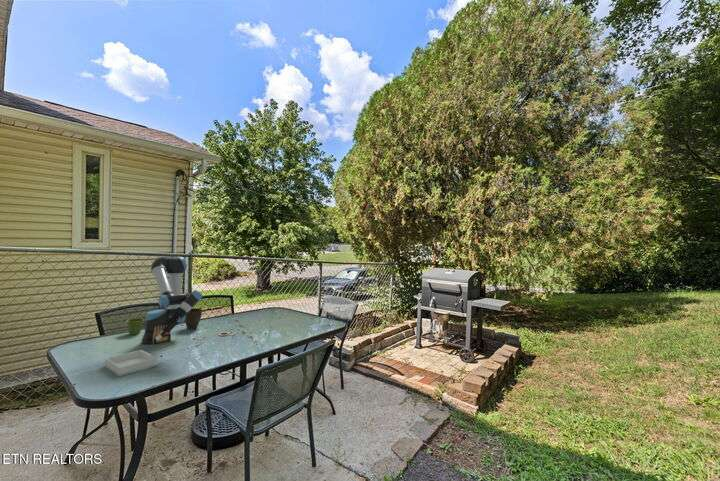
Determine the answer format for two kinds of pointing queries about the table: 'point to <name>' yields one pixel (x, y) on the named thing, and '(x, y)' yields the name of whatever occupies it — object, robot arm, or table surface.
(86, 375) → the table surface
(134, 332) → the plant pot
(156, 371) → the table surface
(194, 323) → the plant pot
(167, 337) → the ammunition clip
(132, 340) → the table surface
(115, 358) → the box
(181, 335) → the table surface
